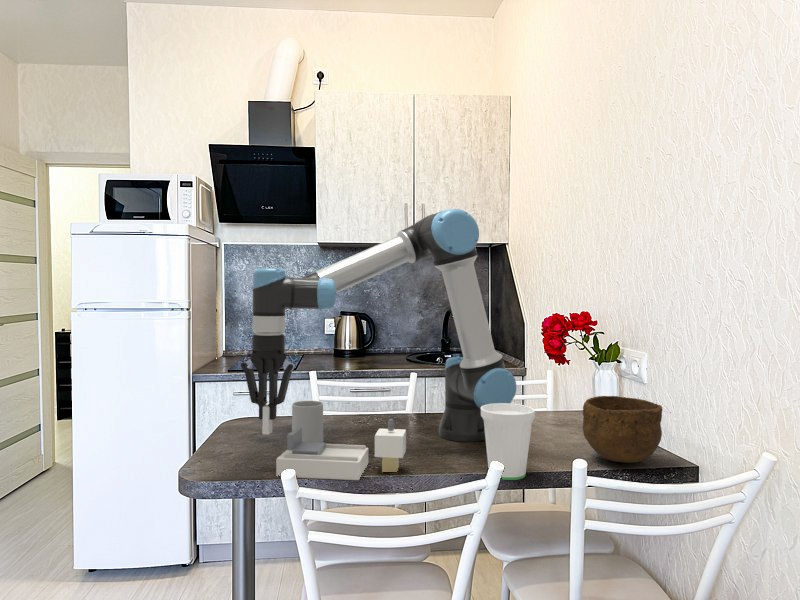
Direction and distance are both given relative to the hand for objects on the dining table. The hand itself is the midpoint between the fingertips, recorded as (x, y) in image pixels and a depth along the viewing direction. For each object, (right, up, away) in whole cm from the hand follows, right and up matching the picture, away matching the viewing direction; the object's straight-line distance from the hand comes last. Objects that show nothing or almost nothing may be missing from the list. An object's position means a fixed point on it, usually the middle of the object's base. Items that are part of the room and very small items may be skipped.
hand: (267, 432), depth 138 cm
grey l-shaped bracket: (+10, -4, -1) cm, 10 cm away
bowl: (+87, -9, +7) cm, 87 cm away
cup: (+56, -9, -4) cm, 57 cm away
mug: (+6, -8, +24) cm, 26 cm away
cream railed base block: (+14, -8, -1) cm, 16 cm away
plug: (+29, -9, -1) cm, 30 cm away
